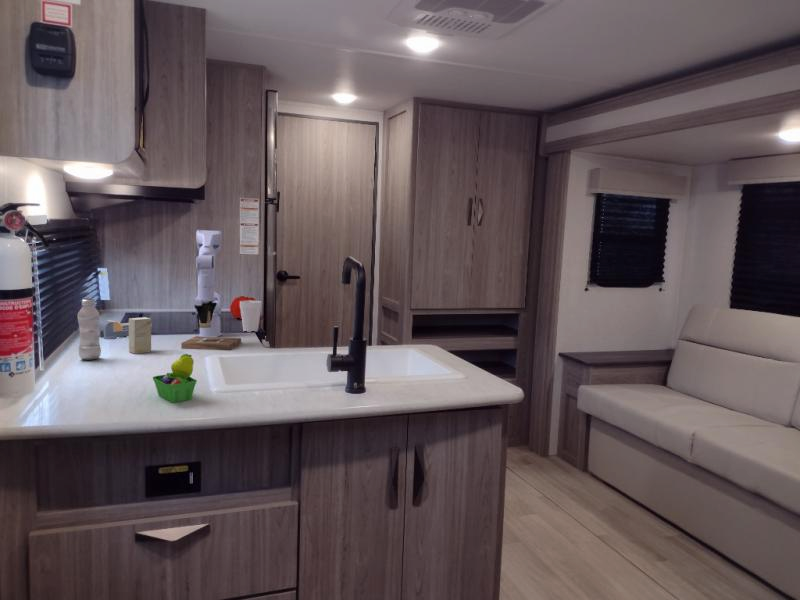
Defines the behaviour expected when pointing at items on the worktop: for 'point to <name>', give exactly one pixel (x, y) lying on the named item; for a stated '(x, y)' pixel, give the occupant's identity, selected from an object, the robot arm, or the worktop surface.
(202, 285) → the robot arm
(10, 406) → the worktop surface
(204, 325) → the peg
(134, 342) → the skincare box
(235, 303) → the tomato
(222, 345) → the socket board
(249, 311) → the foam cup
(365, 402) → the worktop surface
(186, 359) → the fruit basket
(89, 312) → the plastic bottle
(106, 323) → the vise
